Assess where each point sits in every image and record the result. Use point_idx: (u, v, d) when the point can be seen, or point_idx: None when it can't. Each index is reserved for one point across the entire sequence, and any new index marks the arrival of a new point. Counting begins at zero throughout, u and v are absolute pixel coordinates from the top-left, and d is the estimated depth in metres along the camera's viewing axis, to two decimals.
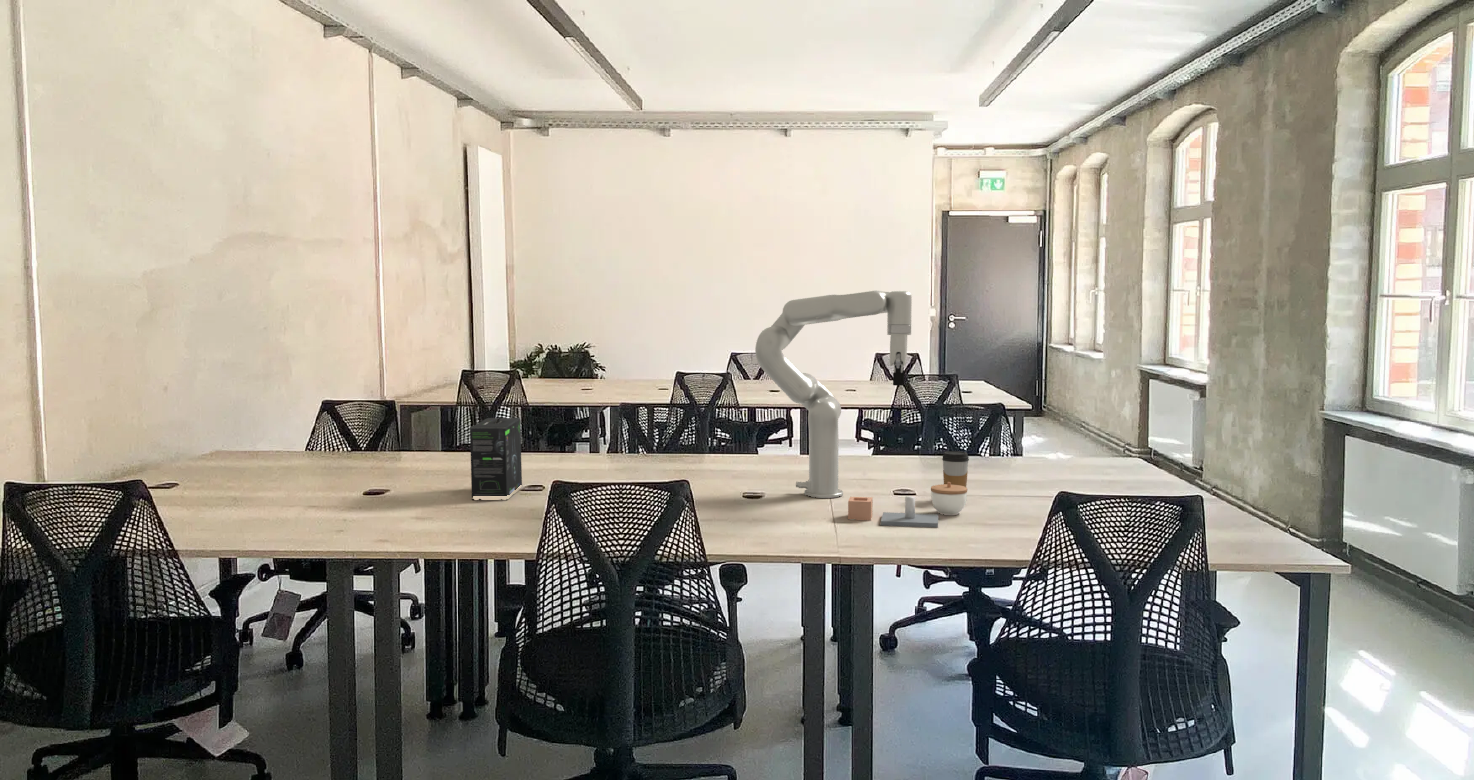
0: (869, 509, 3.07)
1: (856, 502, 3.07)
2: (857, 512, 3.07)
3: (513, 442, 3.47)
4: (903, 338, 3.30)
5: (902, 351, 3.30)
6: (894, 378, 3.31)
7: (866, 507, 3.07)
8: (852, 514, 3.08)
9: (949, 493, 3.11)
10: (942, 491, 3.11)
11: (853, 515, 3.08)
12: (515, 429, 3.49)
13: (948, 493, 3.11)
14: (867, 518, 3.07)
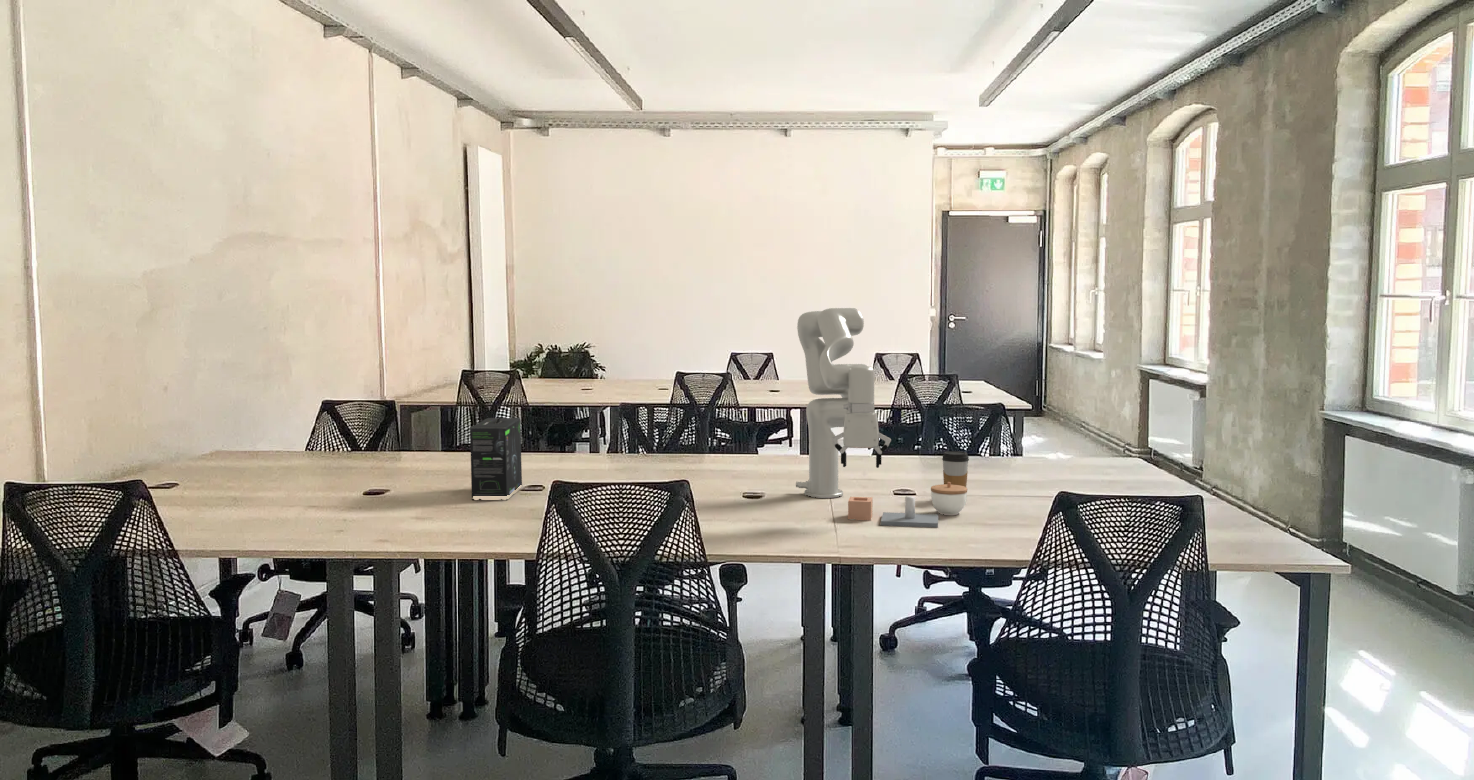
0: (869, 509, 3.07)
1: (856, 502, 3.07)
2: (857, 512, 3.07)
3: (513, 442, 3.47)
4: None
5: None
6: (878, 460, 3.07)
7: (866, 507, 3.07)
8: (852, 514, 3.08)
9: (949, 493, 3.11)
10: (942, 491, 3.11)
11: (853, 515, 3.08)
12: (515, 429, 3.49)
13: (948, 493, 3.11)
14: (867, 518, 3.07)
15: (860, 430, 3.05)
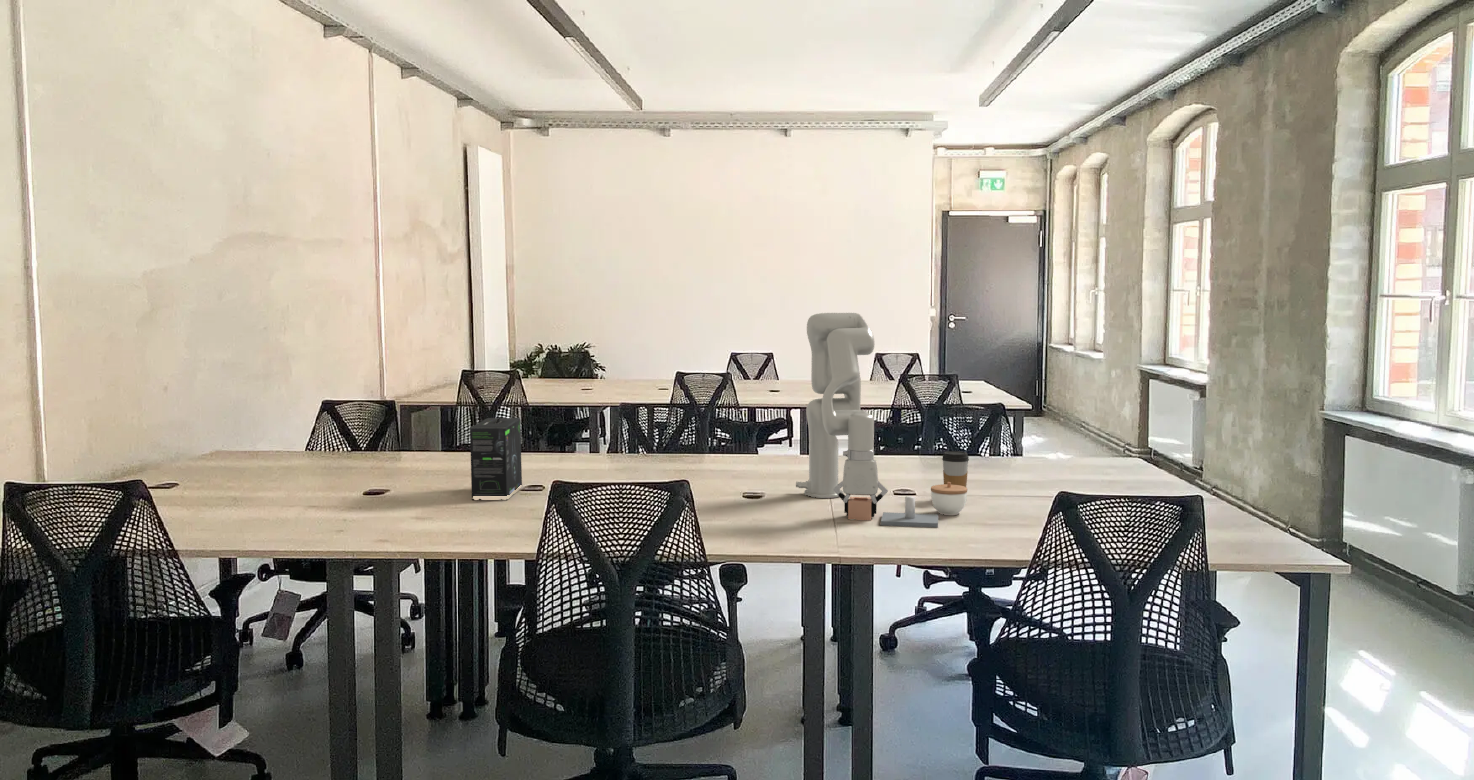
0: (869, 509, 3.07)
1: (856, 502, 3.07)
2: (857, 512, 3.07)
3: (513, 442, 3.47)
4: None
5: None
6: (873, 509, 3.08)
7: (866, 507, 3.07)
8: (852, 514, 3.08)
9: (949, 493, 3.11)
10: (942, 491, 3.11)
11: (853, 515, 3.08)
12: (515, 429, 3.49)
13: (948, 493, 3.11)
14: (867, 518, 3.07)
15: (859, 477, 3.07)
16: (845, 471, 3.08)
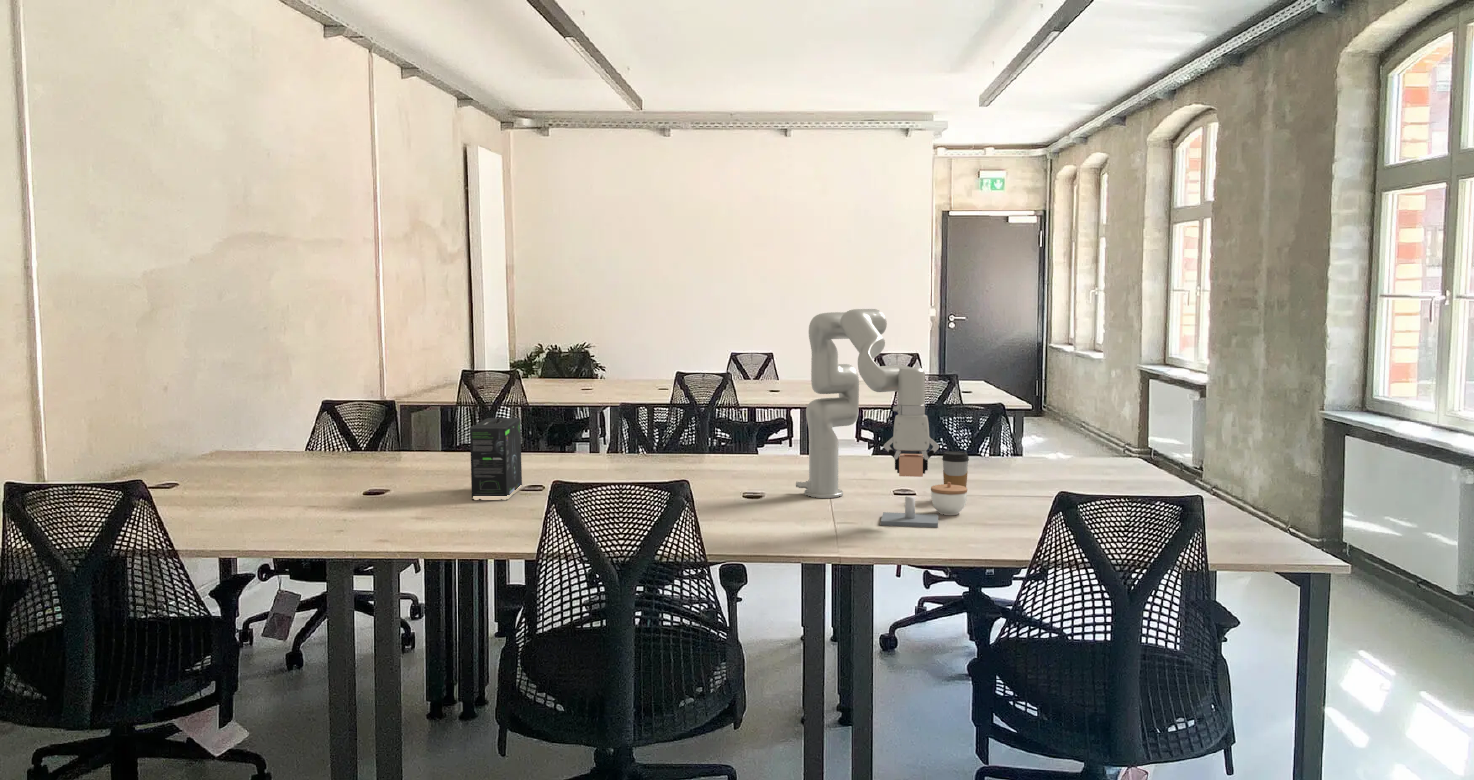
0: (921, 465, 2.99)
1: (907, 458, 3.00)
2: (908, 468, 3.00)
3: (513, 442, 3.47)
4: None
5: None
6: (925, 466, 3.01)
7: (918, 463, 2.99)
8: (903, 470, 3.00)
9: (949, 493, 3.11)
10: (942, 491, 3.11)
11: (904, 471, 3.00)
12: (515, 429, 3.49)
13: (948, 493, 3.11)
14: (919, 474, 2.99)
15: (911, 433, 2.99)
16: (896, 426, 3.00)
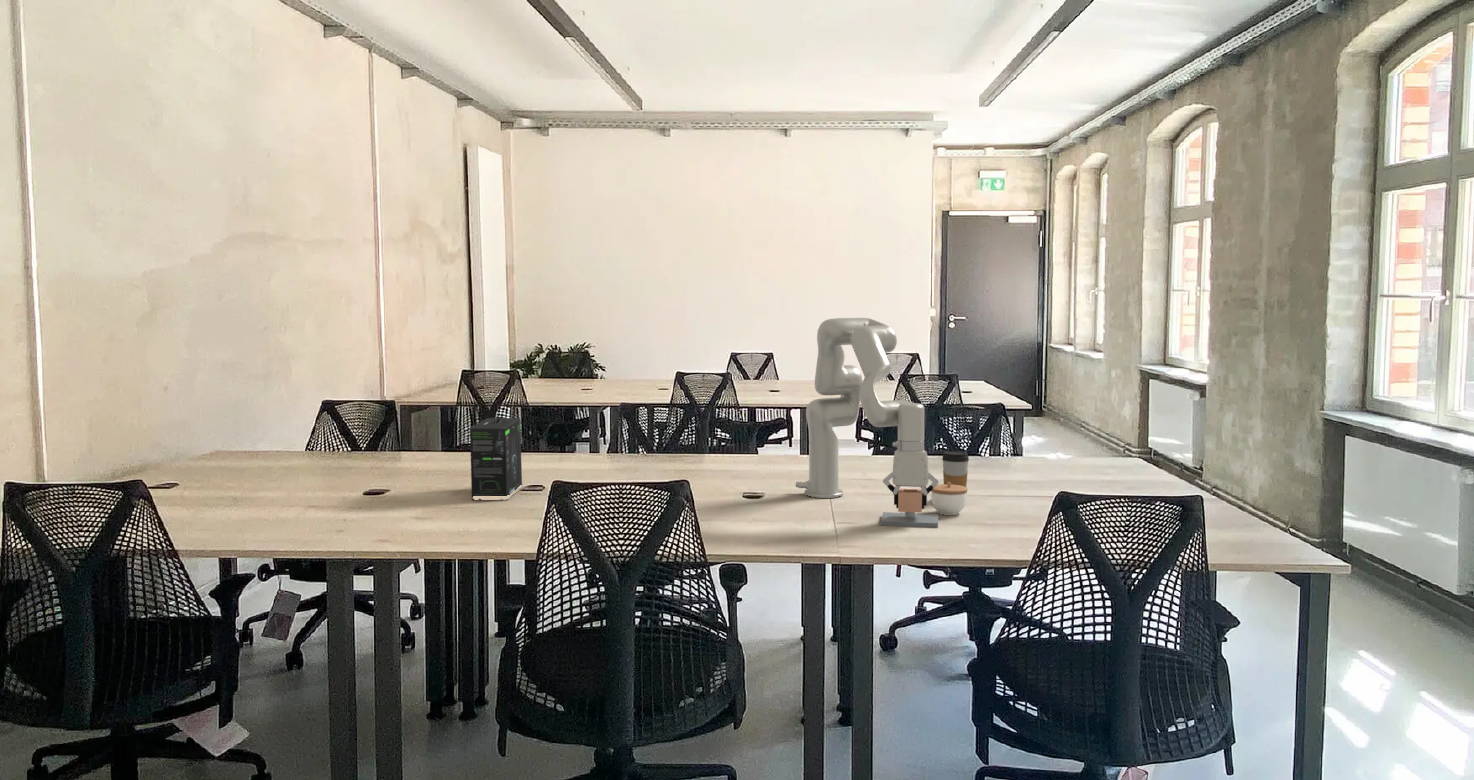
0: (920, 501, 3.00)
1: (906, 494, 3.01)
2: (907, 504, 3.01)
3: (513, 442, 3.47)
4: None
5: None
6: (924, 501, 3.02)
7: (917, 499, 3.00)
8: (902, 506, 3.01)
9: (949, 493, 3.11)
10: (942, 491, 3.11)
11: (903, 507, 3.01)
12: (515, 429, 3.49)
13: (948, 493, 3.11)
14: (918, 510, 3.01)
15: (910, 468, 3.01)
16: (895, 462, 3.02)
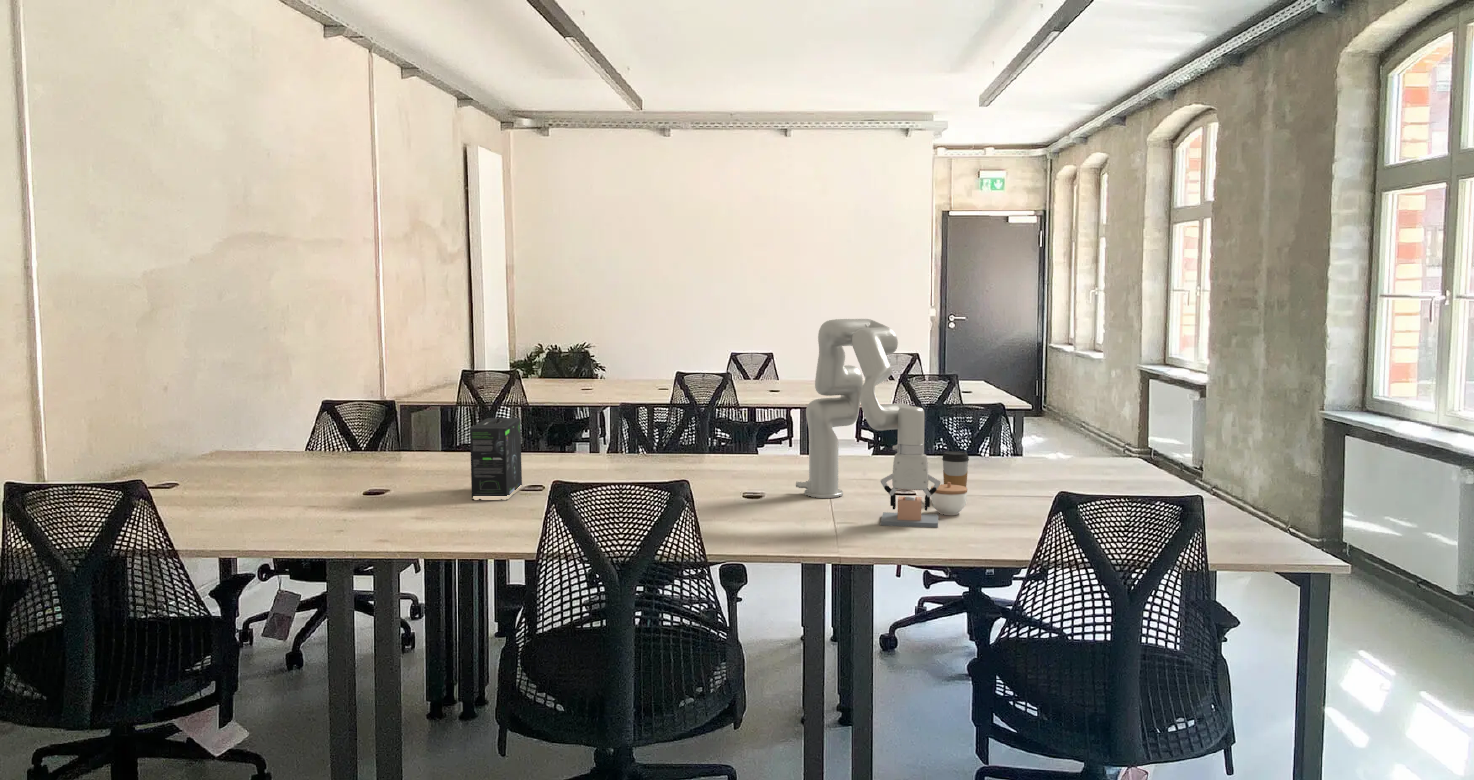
0: (919, 509, 3.01)
1: (906, 502, 3.01)
2: (907, 512, 3.01)
3: (513, 442, 3.47)
4: None
5: None
6: (927, 503, 3.02)
7: (916, 507, 3.01)
8: (902, 514, 3.02)
9: (949, 493, 3.11)
10: (942, 491, 3.11)
11: (903, 515, 3.02)
12: (515, 429, 3.49)
13: (948, 493, 3.11)
14: (917, 518, 3.01)
15: (910, 472, 3.01)
16: (895, 465, 3.02)
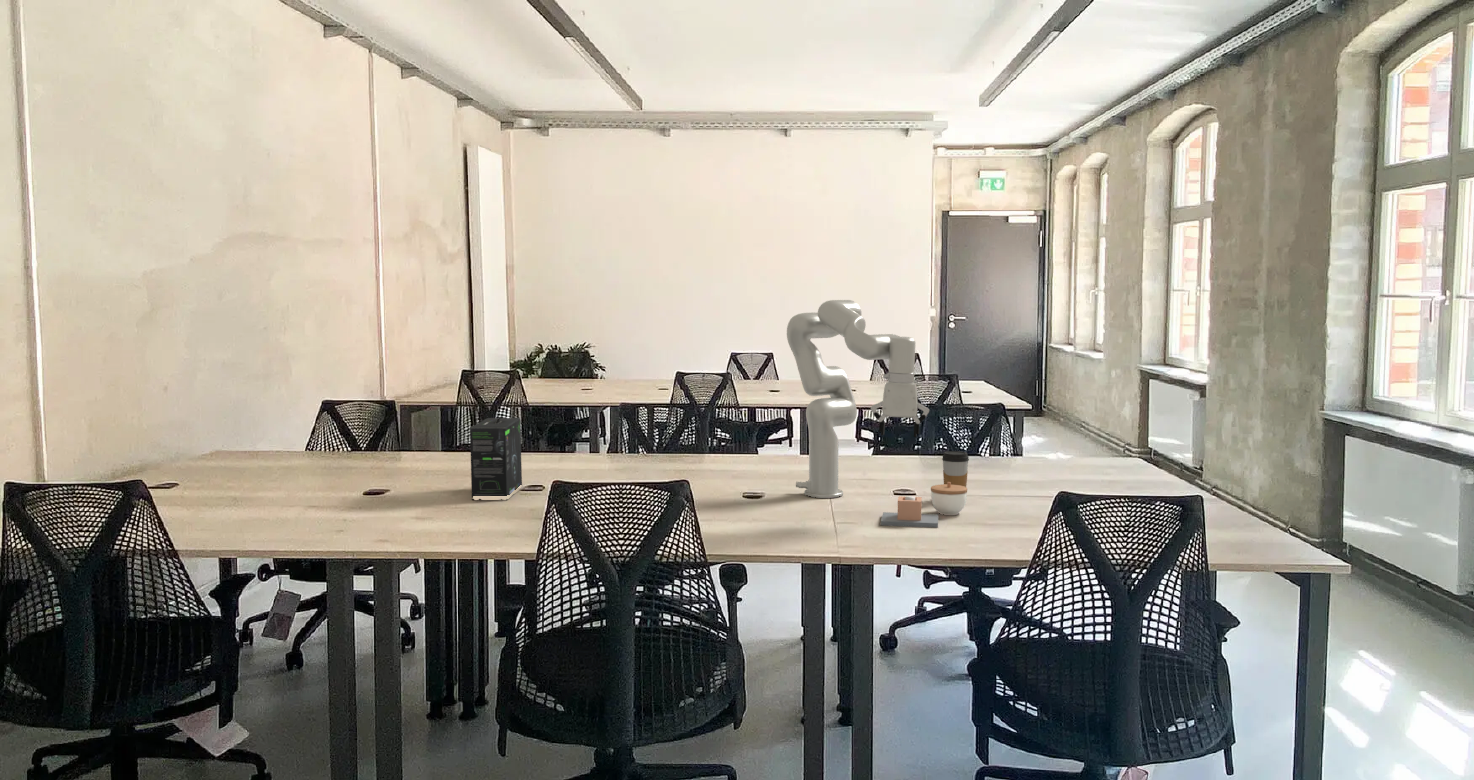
0: (919, 509, 3.01)
1: (906, 502, 3.01)
2: (907, 512, 3.01)
3: (513, 442, 3.47)
4: None
5: None
6: (916, 429, 3.12)
7: (916, 507, 3.01)
8: (902, 514, 3.02)
9: (949, 493, 3.11)
10: (942, 491, 3.11)
11: (903, 515, 3.02)
12: (515, 429, 3.49)
13: (948, 493, 3.11)
14: (917, 518, 3.01)
15: (899, 400, 3.11)
16: (885, 393, 3.12)
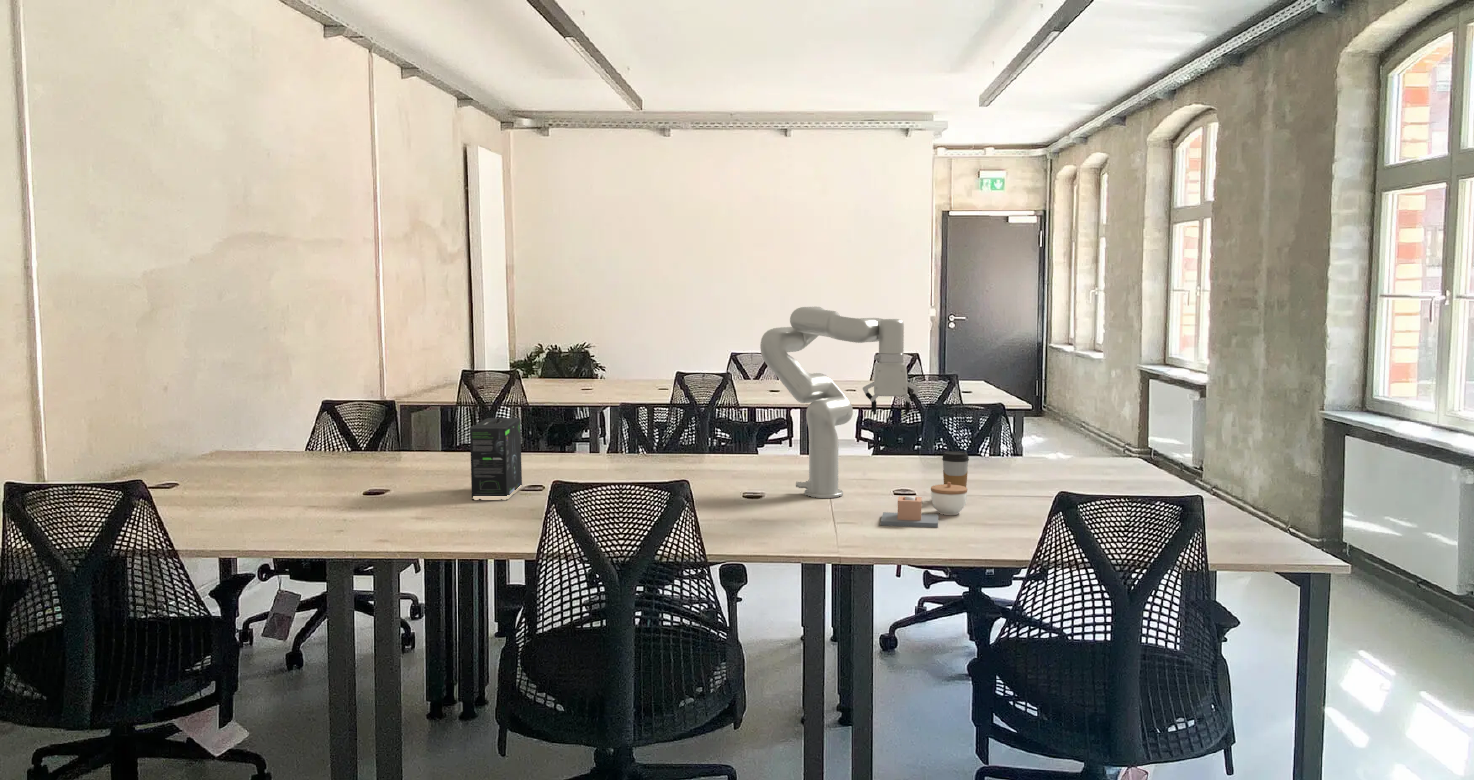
0: (919, 509, 3.01)
1: (906, 502, 3.01)
2: (907, 512, 3.01)
3: (513, 442, 3.47)
4: None
5: None
6: (907, 408, 3.24)
7: (916, 507, 3.01)
8: (902, 514, 3.02)
9: (949, 493, 3.11)
10: (942, 491, 3.11)
11: (903, 515, 3.02)
12: (515, 429, 3.49)
13: (948, 493, 3.11)
14: (917, 518, 3.01)
15: (890, 379, 3.22)
16: (876, 373, 3.23)
